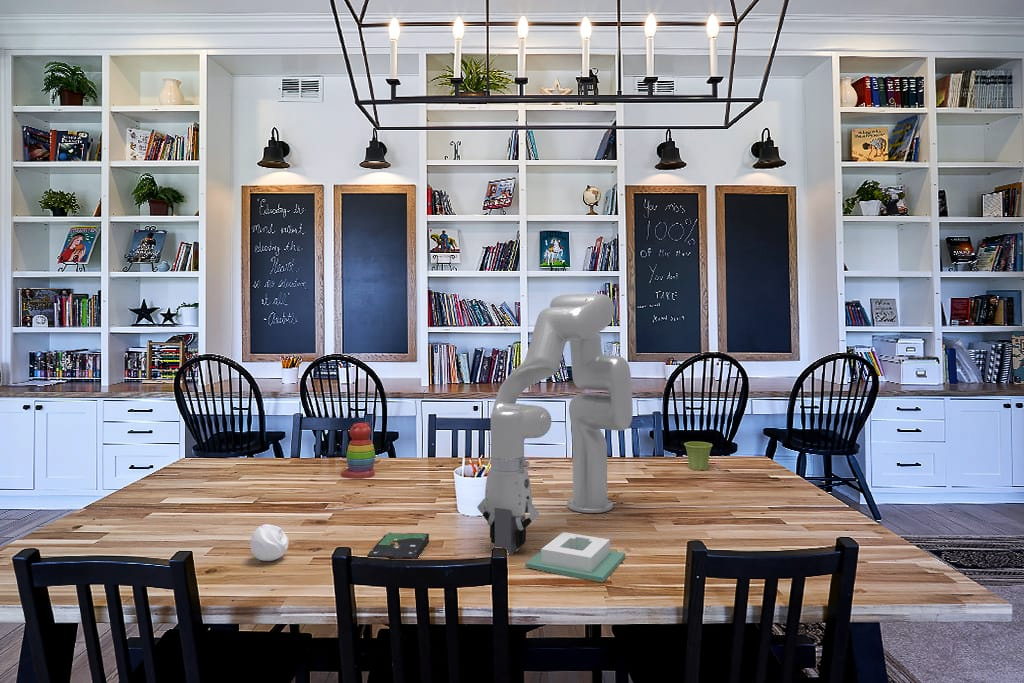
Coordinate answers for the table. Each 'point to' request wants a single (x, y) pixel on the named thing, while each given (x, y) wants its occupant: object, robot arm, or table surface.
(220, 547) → the table surface
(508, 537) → the plug
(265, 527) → the crumpled white paper ball
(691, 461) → the plant pot
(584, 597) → the table surface
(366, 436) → the stacking bear
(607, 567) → the board
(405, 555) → the disk drive
